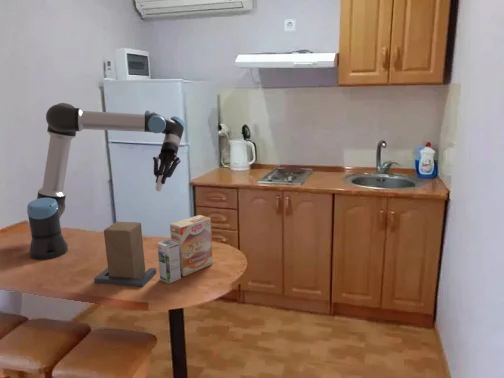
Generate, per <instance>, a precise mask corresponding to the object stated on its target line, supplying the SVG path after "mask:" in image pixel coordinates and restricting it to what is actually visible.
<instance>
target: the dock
mask: <svg viewBox="0 0 504 378" xmlns="http://www.w3.org/2000/svg"><path fill="white" fill-rule="evenodd" d="M156 274H157V269H156V268H154V267H149V268H148V269H147V270H145V272H144V273H143V274H142V275H141V276H140V277H139V278H127V277H114V276H109V273H108V267H107V268H105V269H104V270H102V271H101V272H100V273H99V274H98V275H96V276H95V277H94V278H93V280H94V281H93V282H94V284H99V285H109V286H110V285H112V286H126V287H137V288H144V287H145V285H146V284H147V283H148V282H149V281H150V280H151V279H152V278H153V277H154V276H155V275H156Z"/></svg>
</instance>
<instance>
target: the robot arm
mask: <svg viewBox="0 0 504 378" xmlns="http://www.w3.org/2000/svg"><path fill="white" fill-rule="evenodd" d="M45 120H46V121H45V122H46V123H47V124H48V125H47V133H48V134H49V142H48V149H47V156H46V162H45V169H44V174H43V175H44V177H43V180H42V181H43V182H42V187H41V188H40V189H38V190H37V196H36V199H34V200H32V201H29V203H28V204H27V206H26V212H27V216H28V223H29V230H30V234H31V240H30V241H31V242H30V247H29V251H28V252H29V257H30V258H31V259H33V260H48V259H54V258H57V257H61V256H63V255H65V254H66V253H67V252H68V250H69V247H68V243H67V242H66V240H65V238H64V236H63V234H62V228H61V221H60V219H61V217H62V215H63V214H64V212H65V210H66V196H67V193H66V192H65V191H64V187H65V180H66V176H67V175H66V174H67V168H68V162H69V155H70V149H71V143H72V140H73V139H75V137H76V135H77V132H81V131H83V130H93V131H96V130H97V131H117V132H119V131H121V132H139V133H140V132H143V133H153V134H160V133H161V134H163V135H164V138H163V141H162V145H161V148H160V153H158V156H153V157H152V159H153V175H154V176H155V178H156V179H155V183H156V184H155V189H156V191H157V192H162V188H163V185H165V183H166V180H167V178H171V177H172V176H173V174H174V172H175V171H176V169H177V167H178V165H179V164H180V163H181V159H180V156H179V157H178V156H177V155H178V152H179V148H180V143H181V141H182V136H183V134H184V130H185V126H186V125H185V120H184V119H183V118H181V117H179V116H171V117H170V118H168V117H165V116H163V115H161V114H159V113H156V112H155V111H151V110H146V111H145V112H144V114H143V113H141V114H140V113H123V112H111V111H109V112H107V111H89V110H82V108H80V107H75V106H73V105H72V104H71V103H67V102H61V103H57V104H54V105H52V106H50V107H49V108H48V110H47V111H46V113H45ZM159 162H160V164H159Z"/></svg>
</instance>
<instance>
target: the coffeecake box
mask: <svg viewBox="0 0 504 378" xmlns="http://www.w3.org/2000/svg"><path fill="white" fill-rule="evenodd" d="M211 221H212V219H211V217H209V216H206V215H201V214H198V215H195V216H191V217H189V218H185V219H182V220H179V221H175V222H172V223H170V224H169V229H170V230H169V232H170V240H172V241H175V242H178V243H179V257H180V274H181V276H182V277H185V276H188V275H190V274H192V273H196V272H197V271H199V270H201V269H204V268H206V267H208V266H209V267H210V266H211V265H213V242H212V239H213V238H212V222H211Z"/></svg>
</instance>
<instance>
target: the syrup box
mask: <svg viewBox="0 0 504 378" xmlns="http://www.w3.org/2000/svg"><path fill="white" fill-rule="evenodd" d="M157 255H158V266H159V267H158V269H159V271H158V272H159V280H160V281H162V282H164V283H166V284H168V285H169V284H172V283H174V282H177V281H179V280H180V279H182V277H181V276H182V275H181V274H180V257H179V243H178V242H175V241H172V240H171V238H170V239H165V240H162V241H160V242H157Z"/></svg>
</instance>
